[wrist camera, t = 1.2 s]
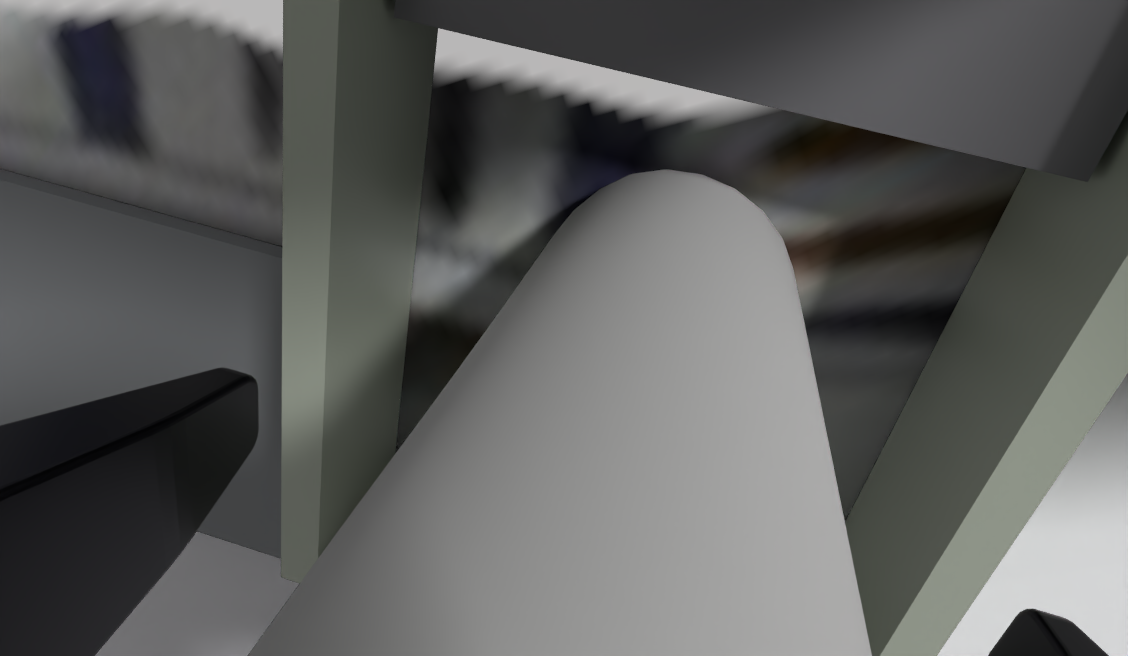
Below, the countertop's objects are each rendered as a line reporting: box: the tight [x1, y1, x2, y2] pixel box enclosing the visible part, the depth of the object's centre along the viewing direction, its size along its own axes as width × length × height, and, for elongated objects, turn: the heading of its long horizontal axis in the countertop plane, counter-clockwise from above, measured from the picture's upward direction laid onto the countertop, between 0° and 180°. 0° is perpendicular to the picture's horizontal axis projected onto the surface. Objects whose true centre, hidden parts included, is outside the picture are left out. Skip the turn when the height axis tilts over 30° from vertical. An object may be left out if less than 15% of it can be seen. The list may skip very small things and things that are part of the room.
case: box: [281, 0, 1128, 656], centre depth 12 cm, size 16×12×4 cm
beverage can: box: [248, 169, 872, 656], centre depth 9 cm, size 5×5×12 cm
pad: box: [0, 169, 282, 558], centre depth 18 cm, size 9×9×1 cm
